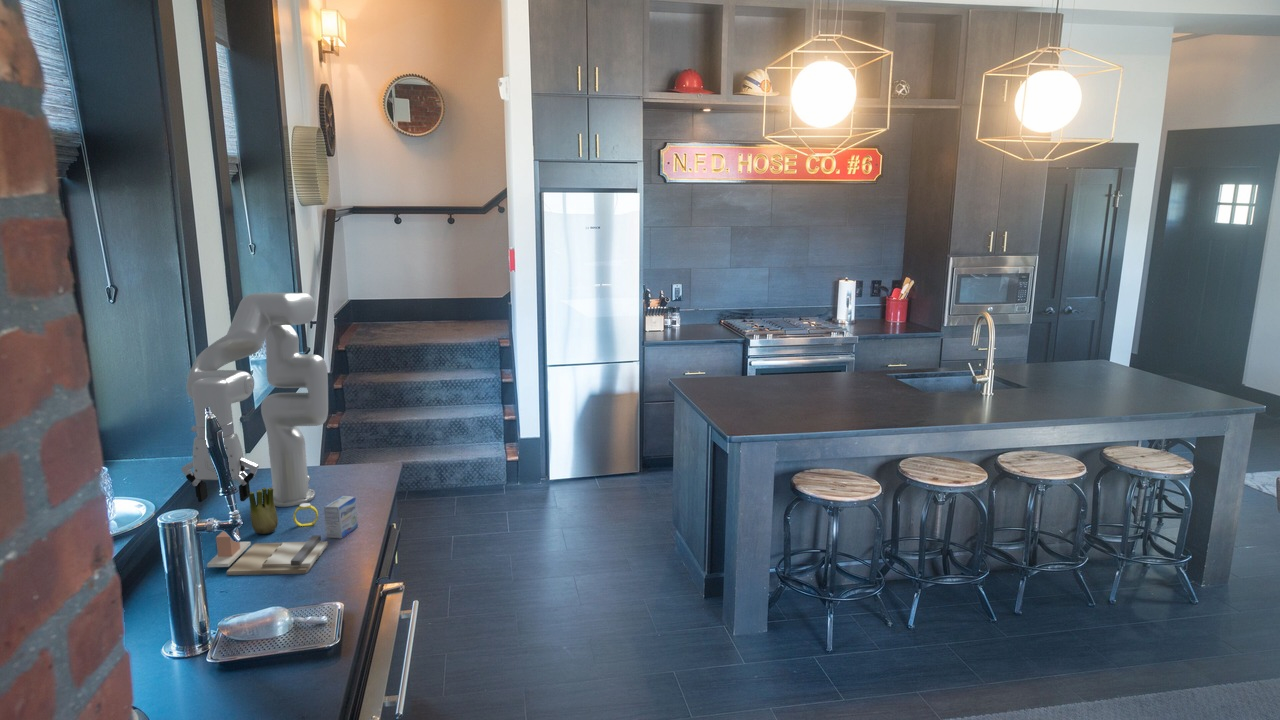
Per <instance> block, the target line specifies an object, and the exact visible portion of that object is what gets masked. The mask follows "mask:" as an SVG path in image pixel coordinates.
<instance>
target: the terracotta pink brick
mask: <svg viewBox="0 0 1280 720" xmlns="http://www.w3.org/2000/svg"><path fill="white" fill-rule="evenodd" d="M236 529H237V531H236V532H237V535H238V536H239V537H240V532H239V529H238V528H236ZM215 540H216V542H215V543H216V548H217V549H216V550H217V554H216V555H215V556H214V557H213V558H211V560H210V561H209V562H207V563H206V567H207V568H230V567H231V565H233V564H234V563H235V561H237V560H238V559H239V557H241V556H242V555H243V554H244V553H245V552H246V551H247V550H248V549H249V548H250V546H252V545H251V544H252V543H251V541H240V542H236V541H233V540H232V539H231V538H230V536H229V535H228V534H227V533H226V532H224V531H223V530H222V531H221V532H220V533H219V534H217V536H216V537H215Z"/></svg>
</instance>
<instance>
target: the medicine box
mask: <svg viewBox="0 0 1280 720" xmlns="http://www.w3.org/2000/svg"><path fill="white" fill-rule="evenodd" d="M323 513H324V521H325V522H324V523H325V533H326V538H329V539H338V538H342V539H344V538H345V537H346V536H348V535H349V534H350V533H352V532H353V531H354V530H355V529H357V528H358V526H359V524H358V514H357V513H358V512H357V501H356V497H355V496H350V495H349V496H348V495H341V496H339V497H338V498H335V500H333V501H331V502H329V503H328V504H326V505H325V506H324V507H323ZM347 534H348V535H347ZM344 536H345V537H344ZM343 537H344V538H343Z"/></svg>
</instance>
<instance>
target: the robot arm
mask: <svg viewBox="0 0 1280 720" xmlns="http://www.w3.org/2000/svg"><path fill="white" fill-rule="evenodd" d="M316 312H317V306H316V302H315V299H314V297H312V295H311V294H309V293H307V292H262V293H261V292H258V293H257V292H256V293H250V294H247V295H246V296H244V297H242V299H241V301H240V302H239V303H238V306H237V309H236V311H235V314H234V316H233V319H232V321H231V323H230V326H229V328H228V330H227V333H226V334H225V335H224V336H222V337H221V338H219V339H217V340H216V341H214V342H213V343H211V344H210V345H209V346H207V347H206V348H204V350H202V351H200V353H199V354H198V355H197V356H196V358H195V360H194V362H193V364H192V366H191V368H190V371H189V373H188V377H187V379H186V387H185V388H186V393H187V395H188V397H189V398H190V399H192V400H193V409H194V415H195V416H194V418H195V425H192V426H191V428H190V430H191V432H192V433H193V432H195V433H196V437H194V438H193V445H192V461H190V462H188V463H187V464H184V465H183V466H182V467H181V468H180V470H181V471H182V473H183V475H184V476H185V478H186V480H188V481H189V482H190V483H192V484H191V485H192V486H193V487H195V488H194V489H195V495H196V498H197V502H198V503H202V502H204V501H205V500H206V499H207V498H208V488H207V483H206V481H219V480H218V477H217V474H216V471H215V469H214V466H213V463H212V461H211V458H210V456H209V453H208V449H207V445H206V440H205V408H206V407H210V408H211V412H212V413H213V414H214V415H215V416H216V418H217V420H218V422H219V424H220V426H221V428H222V429H223V438H224V445H225V449H226V453H227V456H228V462H229V468H230V473H231V477H232V479H231V480H236V481H237V482H238V484H240V485H239V486H238V491H239V492H238V494H239V501H240V502H245V501H246V500H248V498H249V495H250V492H251V490H250V481H251V480H253V479H254V477H256V474H257V471H258V469H259V468H260V467H259V464H257V463H255V462H252V461H250V460H248V459H246V458H245V456H244V453H243V452H244V451H243V448H242V444H241V441H240V438H239V435H238V434H237V433H236V432H235V427H234V426H235V425H234V419H233V411H232V410H233V409H232V404H236V403H240V402H242V401H245V400H247V399H249V397H250V396H251V395H252V394H253V391H254V390H255V381H254V378H253V376H252V375H251V374H250V373H249V372H248V371H245V370H239V369H238V370H237V369H234V370H233V369H231V370H230V369H229V370H227V369H226V370H225V369H220V368H222V367H224V366H225V365H228V364H230V363H233V362H236V361H238V360H241V359H244V358H247V357H250V356H252V355H254V354H256V353H258V352H259V351H260V350H262V347H263V345H264V341H265V351H266V352H265V354H266V357H265V358H266V359H265V361H266V364H265V365H266V366H265V367H266V377H267V382H268V384H269V385H270V386H271V387H273V388H279V389H281V388H282V389H297V388H298V389H306V390H307V392H277V393H276V392H275V393H271V394H268V395H267V396H266V397H265V398H263V400H262V402H261V406H260V412H261V417H262V420H263V424H264V427H265V430H266V436H267V444H268V453H269V454H268V455H269V465H270V475H271V483H272V484H271V485H272V486H271V487H272V488H273V499H274V505H275V507H279V508H281V507H282V508H284V507H286V508H287V507H288V508H289V507H294V506H299V505H300V504H303V503H310V502H311V501H312V500H314V498H315V497H316V491H315V490H314V489H313V488H310V485H309V484H310V483H309V482H310V480H311V477H310V475H309V473H308V463H307V451H306V440H305V437H304V435H303V433H302V432H301V430H300V429H299V427H318V426H321V425H324V424H325V423H326V421H327V420H328V416H329V381H328V380H329V376H328V374H329V373H328V366H327V362H326V360H325V359H324V358H323V357H322V356H320V355H319V354H314V353H313V354H312V353H311V354H309V353H308V354H307V353H306V354H302V353H301V352H300V340H299V338H300V337H299V336H298V333H297V331H296V329H294V327H293V326H298V325H305V324H309V323H310V322H312V321H313V319H314V318H315V316H316ZM246 468H247V469H248V470H249V473H248V474H247V473H246V472H245V471H246ZM192 469H193V470H192Z"/></svg>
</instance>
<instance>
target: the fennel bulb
mask: <svg viewBox="0 0 1280 720" xmlns="http://www.w3.org/2000/svg"><path fill="white" fill-rule="evenodd" d="M248 498H249V507H250V522H251V526H252V528H253V531H254V533H256V534H260V535H261V534H262V535H269V534H272V533H273V532H275V531H276V529H277V528H278V524H279V518H278V513H277V509H276V506H275V505H274V499H273V487H268V488H267V487H262V488H261V489H258V490H257V491H256V497H255V492H254V491H250V495H249V497H248Z"/></svg>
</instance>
